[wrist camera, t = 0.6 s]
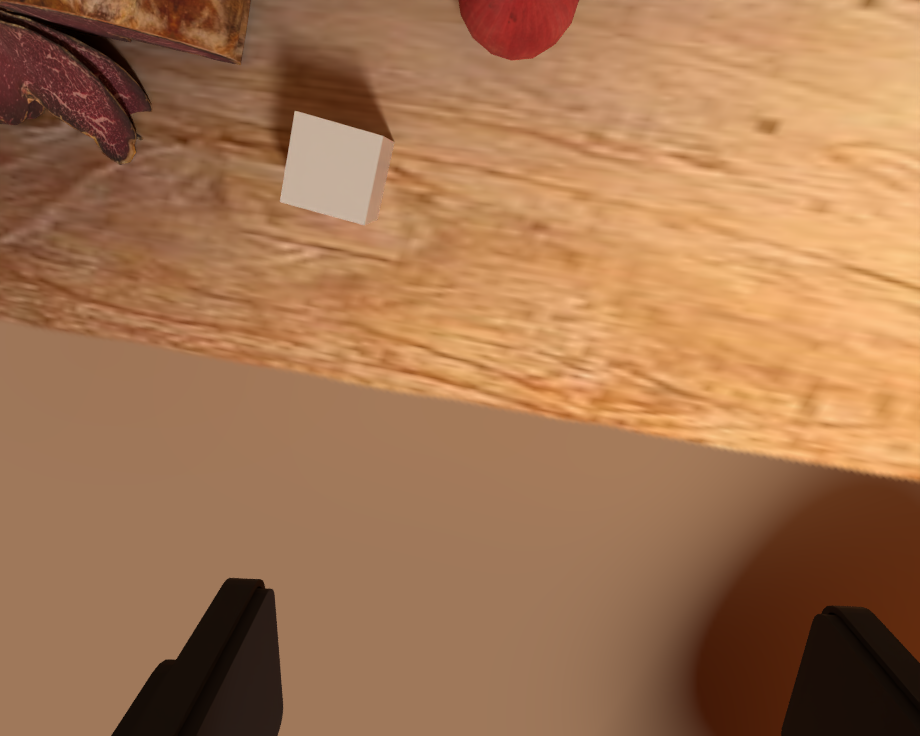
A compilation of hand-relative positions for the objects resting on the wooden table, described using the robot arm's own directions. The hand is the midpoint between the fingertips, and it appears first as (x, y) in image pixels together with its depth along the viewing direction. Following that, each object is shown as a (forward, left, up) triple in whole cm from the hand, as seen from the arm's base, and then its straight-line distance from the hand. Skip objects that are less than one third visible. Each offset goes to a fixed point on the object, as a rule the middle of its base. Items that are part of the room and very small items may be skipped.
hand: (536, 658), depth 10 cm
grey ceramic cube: (-2, -12, -27) cm, 30 cm away
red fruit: (-14, -9, -27) cm, 32 cm away
